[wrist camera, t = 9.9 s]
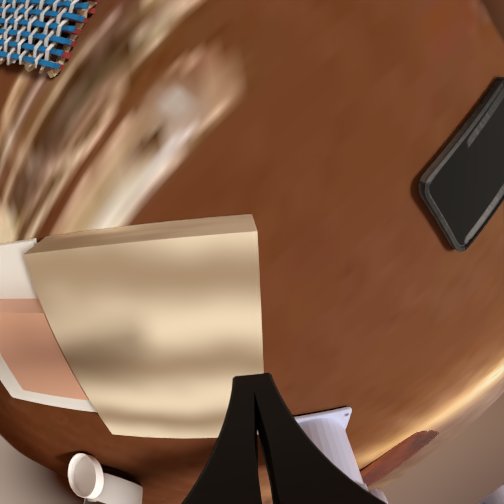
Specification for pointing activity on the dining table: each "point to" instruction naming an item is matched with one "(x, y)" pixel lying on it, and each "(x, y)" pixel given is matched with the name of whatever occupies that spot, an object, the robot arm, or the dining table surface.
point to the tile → (35, 350)
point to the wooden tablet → (396, 456)
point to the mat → (21, 287)
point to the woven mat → (50, 34)
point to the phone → (469, 173)
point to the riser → (155, 319)
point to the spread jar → (102, 482)
